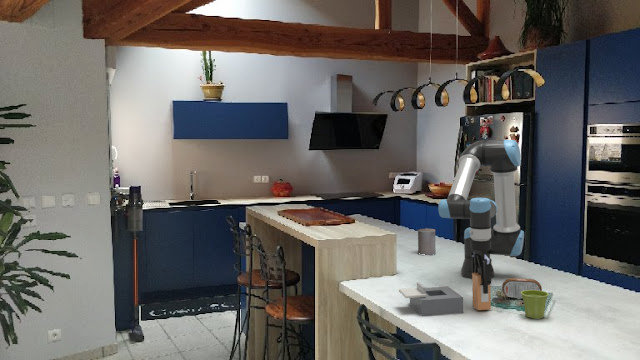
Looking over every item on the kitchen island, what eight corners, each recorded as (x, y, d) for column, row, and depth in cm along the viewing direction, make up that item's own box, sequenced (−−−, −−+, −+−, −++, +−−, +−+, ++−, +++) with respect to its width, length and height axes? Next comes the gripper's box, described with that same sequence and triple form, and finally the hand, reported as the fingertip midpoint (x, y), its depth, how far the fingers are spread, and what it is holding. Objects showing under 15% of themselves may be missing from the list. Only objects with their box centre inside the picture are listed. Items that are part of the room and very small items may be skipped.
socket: (448, 300, 227) (447, 286, 227) (463, 312, 211) (463, 297, 211) (409, 303, 225) (409, 289, 225) (422, 316, 209) (422, 300, 209)
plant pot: (517, 312, 209) (517, 289, 209) (543, 312, 209) (543, 289, 208) (525, 321, 200) (525, 297, 199) (552, 320, 200) (552, 296, 199)
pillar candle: (416, 252, 322) (415, 226, 321) (432, 251, 323) (432, 225, 322) (421, 256, 313) (420, 229, 311) (438, 255, 314) (437, 228, 312)
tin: (541, 299, 225) (541, 278, 224) (542, 301, 222) (542, 280, 221) (502, 297, 230) (502, 276, 229) (502, 299, 227) (501, 278, 226)
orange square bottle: (485, 305, 217) (484, 265, 216) (490, 309, 212) (490, 268, 211) (472, 306, 217) (472, 266, 215) (478, 310, 212) (477, 269, 210)
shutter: (418, 289, 222) (418, 281, 222) (426, 296, 212) (426, 288, 212) (398, 291, 221) (398, 282, 221) (406, 298, 211) (405, 289, 211)
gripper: (461, 235, 221) (462, 293, 223) (481, 244, 203) (482, 307, 205) (480, 234, 222) (481, 292, 224) (500, 242, 204) (501, 305, 206)
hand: (481, 299), depth 214 cm, fingers closed on orange square bottle, 5 cm apart
